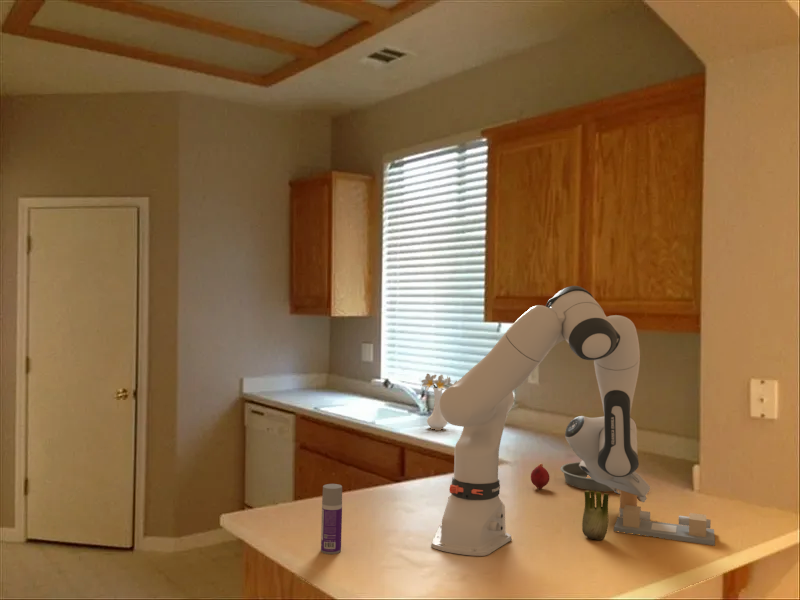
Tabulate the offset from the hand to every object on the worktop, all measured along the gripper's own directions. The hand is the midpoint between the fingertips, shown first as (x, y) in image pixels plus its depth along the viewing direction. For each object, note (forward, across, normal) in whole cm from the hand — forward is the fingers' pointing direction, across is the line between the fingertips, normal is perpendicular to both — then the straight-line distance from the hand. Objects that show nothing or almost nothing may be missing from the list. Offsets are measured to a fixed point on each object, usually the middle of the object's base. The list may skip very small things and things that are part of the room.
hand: (631, 495), depth 205 cm
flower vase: (+12, +135, -6) cm, 136 cm away
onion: (-2, +31, +10) cm, 33 cm away
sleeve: (+3, 0, +4) cm, 5 cm away
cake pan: (+14, +31, -7) cm, 35 cm away
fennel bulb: (-14, -13, +21) cm, 29 cm away
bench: (+1, -16, +7) cm, 18 cm away
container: (-60, +3, +66) cm, 89 cm away
